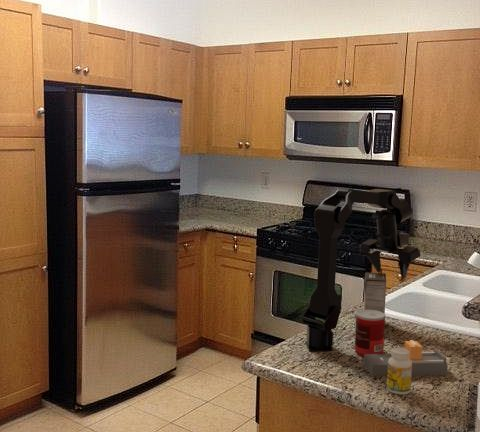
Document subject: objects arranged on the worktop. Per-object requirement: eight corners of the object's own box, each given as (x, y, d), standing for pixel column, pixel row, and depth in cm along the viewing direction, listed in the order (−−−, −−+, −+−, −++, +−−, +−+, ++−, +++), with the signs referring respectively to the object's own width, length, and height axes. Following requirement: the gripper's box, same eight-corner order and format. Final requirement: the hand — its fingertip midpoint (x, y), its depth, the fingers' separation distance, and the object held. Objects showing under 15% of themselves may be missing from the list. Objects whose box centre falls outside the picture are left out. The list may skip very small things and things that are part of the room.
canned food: (384, 349, 157) (386, 311, 155) (381, 359, 150) (383, 319, 148) (356, 345, 160) (358, 308, 158) (352, 355, 152) (354, 316, 150)
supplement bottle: (415, 393, 130) (417, 353, 129) (395, 396, 128) (398, 356, 127) (400, 383, 135) (402, 345, 134) (381, 387, 133) (383, 348, 132)
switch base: (371, 376, 139) (372, 360, 138) (363, 365, 146) (364, 349, 145) (446, 375, 140) (447, 359, 140) (435, 363, 147) (436, 348, 147)
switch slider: (409, 360, 141) (410, 345, 140) (404, 354, 145) (404, 339, 144) (421, 360, 141) (422, 345, 140) (415, 354, 145) (416, 339, 144)
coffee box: (362, 320, 181) (364, 271, 179) (383, 322, 180) (385, 273, 178) (362, 330, 173) (365, 278, 170) (384, 331, 171) (387, 280, 169)
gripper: (428, 224, 171) (432, 271, 176) (377, 216, 185) (382, 260, 190) (407, 236, 165) (411, 285, 169) (356, 227, 179) (361, 272, 183)
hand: (391, 275), depth 178 cm, fingers open, 9 cm apart
